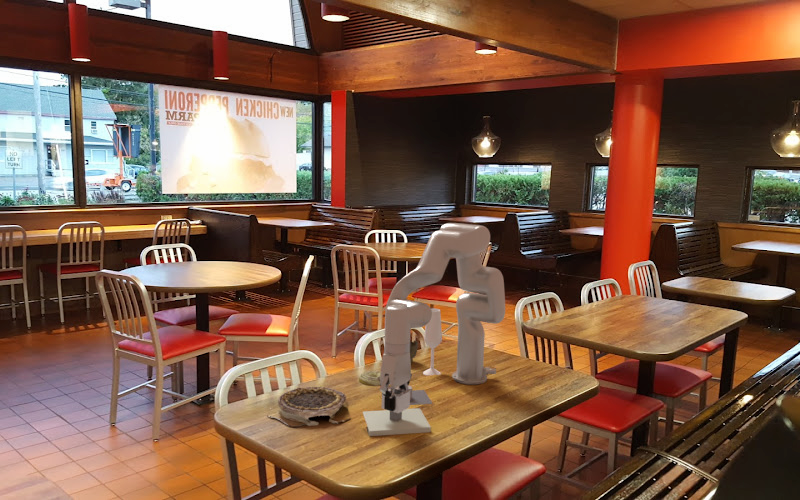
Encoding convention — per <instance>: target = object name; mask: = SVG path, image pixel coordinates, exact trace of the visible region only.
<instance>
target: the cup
mask: <svg viewBox="0 0 800 500" xmlns="http://www.w3.org/2000/svg"><path fill="white" fill-rule="evenodd" d="M418 347H419V342H418V341H417V340H413V341H412V340H411V339H410V359H411V363H412V362H413V361H414V358H416V356H417V353H418Z"/></svg>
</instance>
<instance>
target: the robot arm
mask: <svg viewBox="0 0 800 500" xmlns="http://www.w3.org/2000/svg"><path fill="white" fill-rule="evenodd" d="M490 241H491V233H490V230H489V228H487V227H486V226H484V225H480V224H470V223H462V222H461V223H457V222H447V223H444V224H442V225H441V227H440V228H439V230H435V231H434V232H432V233H431V235H430V236H429V238H428V241H427V243H426V245H425V248H424V250H423V253H422V255H421V257H420V260H419V261H418V264H417V266H416V268H415V269H413V270H412V271H410V272H409V273H407V274H405V275H404V276H403V277H402V278H401V279H399V280H398V282H397V283H396V284H395V285H394V286H393V289H392V290H391V292H390V295H389V296H388V300H387V302H386V306H385V311H384V315H385V316H384V343H383V344H384V349H383V350H384V351H383V354H382V358H381V364H380V365H381V367H380V372H381V374H380V385H379V386H380V387H379V391H380V392H381V395H382V394H383V396H384V397H385V398H384V409H383V410H385V409H386V410H389V411H394V402H395V398H393V396H394V391H395V388H401V389H405V390H408V386H410V385H409V384H410V382H411V379H412V377H413V374H412V373H411V371H412V370H411V369H412V367H411V366H412V365H411V363H412V362H411V359H410V340H411V329H415V328H417V329H418V328H423V327H425V326H426V325H427V324H428V323H429V322H430V320H431V317H432V310H431V309H432V308H431V306H430V305H428V304H427V303H425V302H421V301H415V300H413V299H412V300H411V299H407V298H408V296H409V295H410V294H411V293H412V292H415V291H416V290H418V289H421V288H424V287H426V286H430V285H434V284H435V283H438V282H440V281H441V280H442V278H443V276H444V274H445V271H446V269H447V267H448V265H449V262H450V259H451V258H454V259H455V260H456V271H457V272H456V273H457V282H458V287H459V288H460V289H461V290H462V291H464V293H462V294H460V295H459V296H458V297H457V299H456V303H455V308H456V315H457V326H458V327H457V353H456V355H457V356H456V371H454V372H453V373H452V376H451V377H452V379H453V380H454V381H455V382H457V383H459V384H463V385H481V384H484V383H486V382H487V381H488V375H496V374H497V369H496V368H491V367H490V366H487V367H485V366H484V360H485V359H484V357H485V356H484V355H485V353H484V352H485V329H484V326H483V324H482V323H488V324H495V325H496V324H499V323H501V322H502V321H503V320H504V319H505V316H506V295H505V282H504V275H503V274H502V272H501V270H499V269H498V268H496V267H492V266H491V267H490V266H484V265H483V264H482V260H481V257H482V256H481V253H482V252H485V251H486V249H487V248H488V247H489V245H490ZM388 389H391V393H390V392H389V391H388Z"/></svg>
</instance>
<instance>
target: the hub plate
mask: <svg viewBox="0 0 800 500" xmlns="http://www.w3.org/2000/svg"><path fill="white" fill-rule="evenodd" d="M362 415H363V417H364V420H365V424H366V427H365V428H366V431H367V434H368V436H369V437H379V436H391V435H392V436H394V435H405V434H407V435H408V434H420V433H421V434H422V433H424V434H425V433H431V430H432V427H431V425H430V423H429V422H428V420H427V418H426V416H425V415H424V413H423V411H422V409H421V407H418V408H416V407H415V408H407V409H405V410H404V411H402V412H400V413H396V412H392V411H389V410H385V409H383V410H370V411H369V410H367V411H362Z"/></svg>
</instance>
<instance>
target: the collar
mask: <svg viewBox="0 0 800 500" xmlns="http://www.w3.org/2000/svg"><path fill="white" fill-rule="evenodd" d="M388 391H389V392H390V393H391V389H388ZM384 398H385V397H384V396H383V394H382V393H381V409H383V410H386V409H384ZM393 398H395V402H394V411H392V412H396V413H400V412H402V411H404V410H405V409H410V407H411V405H410V391H409V390H405V389H401V388H399V387H397V388H395V391H394V396H393Z"/></svg>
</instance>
